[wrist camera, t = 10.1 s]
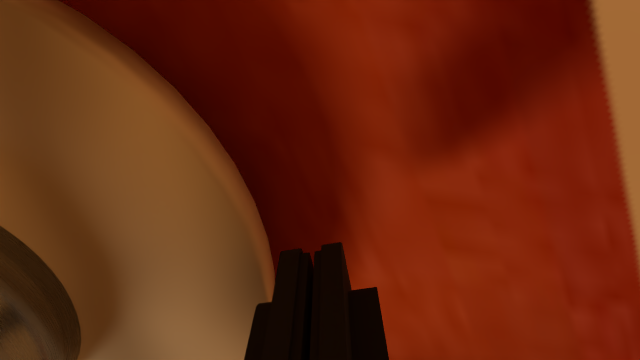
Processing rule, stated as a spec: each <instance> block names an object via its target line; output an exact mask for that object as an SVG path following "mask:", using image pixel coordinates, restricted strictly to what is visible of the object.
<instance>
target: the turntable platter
mask: <svg viewBox="0 0 640 360" xmlns="http://www.w3.org/2000/svg"><path fill="white" fill-rule="evenodd" d="M0 226H1V227H3V228H4V229H6V230H7V231H9V232H10V233H11V234H13V235H14V236H15V237H17V238H18V239H19V240H21V241H22V242H23V243H24V244H26V245H27V246H28V247H29V248H30V249H31V250H32V251H34V252H35V253H36V254H37V255H38V256H39V257H40V258H41V259H42V260H43V261H44V262H45V263H46V265H47V266H48V267H49V268H50V269H51V270H52V271H53V272H54V274H55V275H56V277H57V278H58V279H59V281H60V282H61V283H62V285H63V286H64V288H65V290H66V291H67V293H68V295H69V297H70V298H71V300H72V303H73V305H74V308H75V310H76V313H77V315H78V320H79V324H80V328H81V347H80V354H79V356H78V359H77V360H244V357H245V353H246V348H247V344H248V339H249V335H250V331H251V326H252V322H253V317H254V313H255V309H256V306H257V305H258V304H259V303H266V302H272V297H273V291H274V286H275V271H274V266H273V261H272V256H271V251H270V246H269V241H268V237H267V234H266V231H265V229H264V226H263V223H262V220H261V218H260V215H259V212H258V209H257V206H256V204H255V201H254V199H253V197H252V196H251V194H250V192H249V190H248V188H247V186H246V184H245V182H244V180H243V178H242V176H241V174H240V173H239V171H238V169H237V167H236V165H235V163H234V162H233V160H232V159H231V158H230V156H229V155H228V153H227V152H226V150H225V149H224V148H223V146H222V145H221V143H220V142H219V140H218V139H217V137H216V136H215V135H214V133H213V132H212V130H211V129H210V127H209V126H208V125H207V124H206V123H205V121H204V120H203V119H202V118H201V117H200V116H199V115H198V114H197V112H196V111H195V110H194V109H193V108H192V107H191V106H190V105H189V103H188V102H187V101H186V100H185V99H184V98H183V97H182V95H181V94H180V93H179V92H178V91H177V90H176V89H175V88H174V87H173V86H172V85H171V84H170V83H169V82H168V81H167V80H166V79H164V78H163V77H162V76H161V75H160V74H159V73H158V72H157V71H156V70H155V69H153V68H152V67H151V66H150V65H149V64H148V63H147V62H146V61H145V60H143V59H142V58H141V57H140V56H139V55H138V54H137V53H136V52H135V51H133V50H132V49H131V48H129V47H128V46H127V45H125V44H124V43H122V42H121V41H120V40H118V39H117V38H116V37H114V36H113V35H111V34H110V33H109V32H107V31H106V30H104V29H103V28H102V27H100V26H99V25H98V24H96V23H95V22H93V21H92V20H91V19H89V18H88V17H86V16H85V15H83V14H82V13H80V12H78V11H76V10H75V9H73V8H71V7H69V6H68V5H66V4H64V3H62V2H61V1H59V0H0Z"/></svg>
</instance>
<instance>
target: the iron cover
mask: <svg viewBox="0 0 640 360" xmlns="http://www.w3.org/2000/svg"><path fill="white" fill-rule="evenodd" d="M80 347H81V328H80V324H79V320H78V315H77V313H76V310H75V308H74V305H73V303H72V300H71V298H70V297H69V295H68V293H67V291H66V290H65V288H64V286H63V285H62V283H61V282H60V281H59V279H58V278H57V277H56V275H55V274H54V272H53V271H52V270H51V269H50V268H49V267H48V266H47V265H46V263H45V262H44V261H43V260H42V259H41V258H40V257H39V256H38V255H37V254H36V253H35V252H34V251H32V250H31V249H30V248H29V247H28V246H27V245H26V244H24V243H23V242H22V241H21V240H19V239H18V238H17V237H15V236H14V235H13V234H11V233H10V232H9V231H7V230H6V229H4V228H3V227H1V226H0V360H77V359H78V356H79V354H80Z"/></svg>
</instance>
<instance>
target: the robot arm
mask: <svg viewBox="0 0 640 360" xmlns="http://www.w3.org/2000/svg"><path fill="white" fill-rule="evenodd" d="M244 360H389V357H388V351H387V345H386V339H385V333H384V327H383V321H382V315H381V309H380V303H379V297H378V291H377V287H373V288H366V289H359V290H351V285H350V280H349V275H348V270H347V265H346V260H345V255H344V250H343V246H342V243H341V242H339V243H333V244H326V245H322V247H321V251H316V252H315V255H314V268H313V264H312V259H311V256H310V253H303V251H302V249H301V248H300V249H293V250H287V251H281V253H280V258H279V263H278V269H277V275H276V280H275V286H274V291H273V297H272V302H266V303H259V304H258V305H257V306H256V309H255V313H254V317H253V322H252V326H251V331H250V335H249V339H248V344H247V348H246V353H245V357H244Z"/></svg>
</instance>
